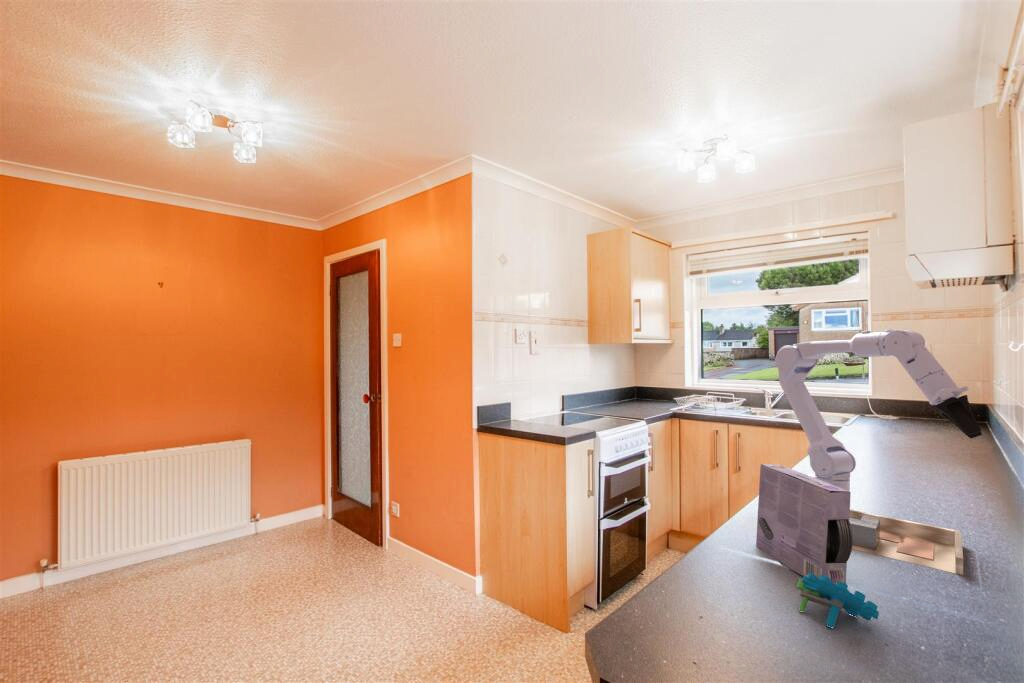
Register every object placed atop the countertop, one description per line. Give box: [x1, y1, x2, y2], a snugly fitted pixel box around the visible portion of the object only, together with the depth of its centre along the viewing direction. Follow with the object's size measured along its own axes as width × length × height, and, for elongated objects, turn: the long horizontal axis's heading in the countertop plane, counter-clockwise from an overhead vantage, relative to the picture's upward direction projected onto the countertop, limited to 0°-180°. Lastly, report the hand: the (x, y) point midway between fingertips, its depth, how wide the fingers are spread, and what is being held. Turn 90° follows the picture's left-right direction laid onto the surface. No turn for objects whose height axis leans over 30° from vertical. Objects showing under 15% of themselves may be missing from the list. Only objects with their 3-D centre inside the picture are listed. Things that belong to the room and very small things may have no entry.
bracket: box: [849, 515, 880, 551], centre depth 104 cm, size 9×8×4 cm
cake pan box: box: [755, 463, 853, 585], centre depth 92 cm, size 19×5×18 cm, turn 9°
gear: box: [795, 573, 880, 627], centre depth 74 cm, size 11×6×10 cm
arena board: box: [849, 509, 964, 576], centre depth 103 cm, size 23×18×4 cm
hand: (975, 434), depth 98 cm, fingers open, 7 cm apart
